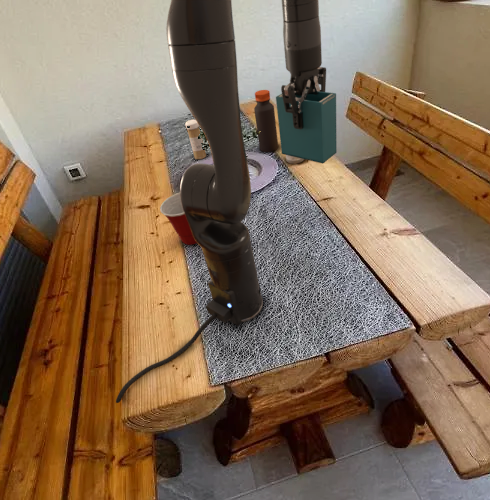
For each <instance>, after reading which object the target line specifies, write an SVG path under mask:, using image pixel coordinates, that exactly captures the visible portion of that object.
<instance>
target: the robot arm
mask: <svg viewBox="0 0 490 500" xmlns="http://www.w3.org/2000/svg"><path fill="white" fill-rule="evenodd" d="M319 1H320V0H281V11H282V22H283V23H282V37H283V38H282V39H283V51H284V60H285V61H284V62H285V69H286V70H287V71H288V72H289V73H290V79H289V83H287V84H282V85H281V87H280V91H281V94H282V96H283V101H284V107H285V112H287V113H292V115H293V126H294V128H295V129H300V130H301V129H302V128H303V127H304V126H303V113H302V110H303V105H302V103H303V102H304V101H305V100H306V99H307V95H308V94H314V95H317V94H318V92H319V91H320V92H326V85H327V80H326V79H327V67H323V66H322V64H323V59H322V58H323V57H322V31H321V27H322V26H321V21H320V7H319V5H320V3H319ZM165 29H166V41H167V42H166V43H167V45H168V46H167V47H168V54H169V60H170V66H171V73H172V78H173V81H174V85H175V87H176V90H177V92H178V94H179V95H180V97H181V99H182V101H183V102H184V104H185V106H186V107H187V109H188V110H189V112H190V114H191V115H192V116H193V118H194V120H196V121H197V123H198V124H199V128H200V129H201V131H202V132H203V134H204V136H205V139H206V142H207V144H208V147H209V150H210V155H211V160H212V164H209V163H201V162H200V163H195V164H192V165H190V166H189V167H188V168H187V169H185V171H184V173H183V175H182V177H181V180H180V185H179V192H180V197H181V203H182V207H183V210H184V213H185V216H186V218H187V221H188V224H189V226H190V229H191V231H192V234H193V237H194V239H195V241H196V242H197V243H196V245H198V246H199V247H200V248H201V250H202V253H203V257H204V260H205V264H206V267H207V270H208V274H209V277H210V280H209V281H208V282H207V285H208V289H209V291H210V292H209V293H210V294H211V298H212V299H211V301H209V302H208V303H207V304H206V305H205V308H206V311H207V314H209V315H210V316H209V317H208V318H207V320H205V322H203V323H202V324H201V326H200V327H199V328H198V329H197V330H196V332H195V333H194V335H193V336H192V338H191V339H190V340H188V342H187V343H186V344H185V345H183V346H182V347H181V348H180V349H179V350H177V351H176V352H174V353H173V354H171V355H170V356H168V357H167V358H164V359H162V360H160V361H157V362H155V363H152V364H151V365H148V366H147V367H145V368H144V369H142V370H141V371H139V372H137V373H136V374H135V375H134V376H133V377H131V378H130V379H129V380H128V381H127V382H126V383H125V384H124V385H123V386H122V388H121V389H120V391H119V392H118V394H117V396H116V399H115V403H116V404H119V403H121V402H122V400H123V397H124V395H125V393H126V392H127V390H128V389H130V387H131V386H132V385H133V384H134V383H135V382H137V381H138V380H140V379H141V378H142V377H143V376H144V375H146V374H147V373H149V372H151V371H153V370H155V369H157V368H160V367H162V366H164V365H166V364H168V363H171V362H173V360H175V359H176V358H178V357H179V356H181V355H182V354H184V353H185V352H186V351H187V350H188V349H190V347H191V346H192V345H193V344H194V343H195V342H196V341H197V340H198V338H199V337H200V335H201V334H202V332H204V330H206V328H207V327H208V326H209V325H210V324H211V323H212V322H213V321H214V320H215V319H217V320H219V321H220V322H222V323H224V324H226V323H228V322H230V323H232V324H233V325H235V326H240V325H241V324H242V323H246V322H249V321H251V320H253V319H255V318H257V317H258V316H259V314H260V313H261V311H262V310H263V307H264V299H263V296H262V294H263V293H262V292H263V291H262V289H261V286H260V283H259V277H258V271H257V266H256V261H255V257H254V250H253V246H252V240H251V236H250V231H249V229H248V227H247V225H246V224H245V223H243V221H244V219H245V218H246V217H247V215H248V214H249V211H250V206H251V200H252V187H251V186H252V185H251V184H252V183H251V176H250V169H249V164H248V158H247V152H246V146H245V140H244V134H243V126H242V125H243V124H242V118H241V117H242V116H241V107H240V105H241V104H240V93H239V80H238V79H239V77H238V60H237V59H238V58H237V46H236V36H235V35H236V34H235V26H234V17H233V4H232V0H170V4H169V9H168V13H167V20H166V27H165ZM296 94H297V95H298V96H302V97H301V98H297V97H296ZM296 101H298V102H299V105H298V107H297V104H296ZM289 103H290V104H291V107H290V105H289Z"/></svg>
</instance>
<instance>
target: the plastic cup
mask: <svg viewBox="0 0 490 500" xmlns="http://www.w3.org/2000/svg"><path fill="white" fill-rule="evenodd" d="M159 210H160V213H161V214H162V215H163V216H165V217H166V218H167V220H168V221H169V223H170V224H171V226H172V227H173V230H174V231H175V233H176V234H177V235H178V237H179V239H180V240H181V242H182V243H183V244H185V245H188V246H190V245H191V246H193V245H195V244H196V245H197V242H196V241H195V239H194V237H193V234H192V231H191V229H190V226H189V224H188V221H187V218H186V216H185V213H184V210H183V207H182V203H181V197H180V191H179V192H177V193H174V194H172V195H170V196H168V197H167V198H166V199H165V200H164V201H163V202H162V203H161V205H160V206H159Z"/></svg>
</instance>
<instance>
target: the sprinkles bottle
mask: <svg viewBox="0 0 490 500" xmlns="http://www.w3.org/2000/svg"><path fill="white" fill-rule="evenodd" d="M184 124H185V129H186V130H187V134H188V139H189V141H190V146H191V149H192V152H193V157H194V159H195V160H203V159H204V158H206V157H207V153H206V149H205V150H203V149H202V144H201V143H203V144H204V140H203V137H202V138H201V139H198V136H199V134H200V133H201V130H200V129H201V128H200V126H199V124H198V123H197V121H196V120H195V119H189V120H187V121H186V122H185V123H184ZM187 126H190V128H187Z"/></svg>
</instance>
